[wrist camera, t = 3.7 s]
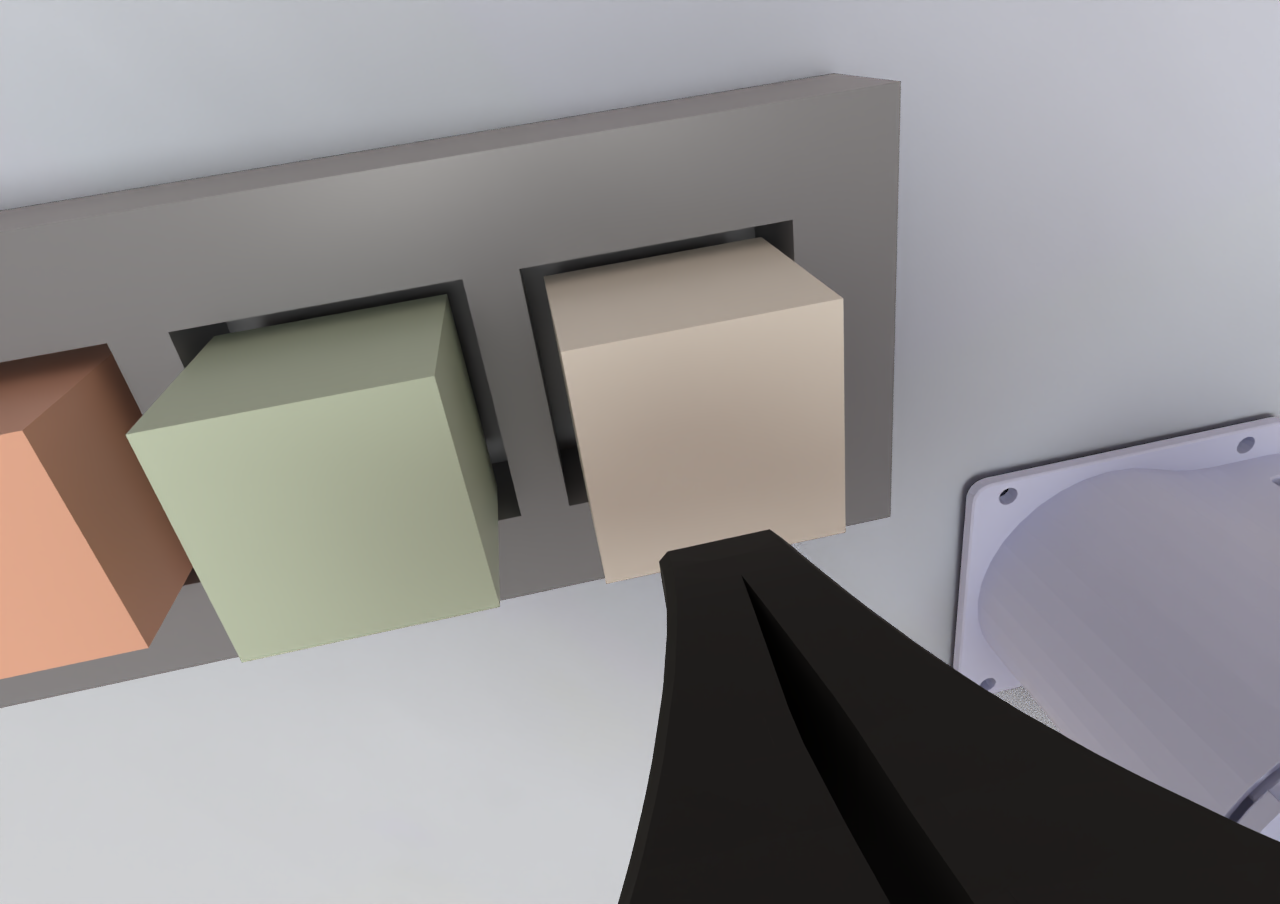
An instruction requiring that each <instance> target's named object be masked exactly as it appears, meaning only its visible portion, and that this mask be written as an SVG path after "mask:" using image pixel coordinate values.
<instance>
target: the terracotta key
mask: <svg viewBox="0 0 1280 904" xmlns="http://www.w3.org/2000/svg"><path fill="white" fill-rule="evenodd" d="M142 416H143V415H142V413H141V411H140V409H139V407H138V405H137V403H136V401H135V399H134V397H133V395H132V393H131V391H130V389H129V387H128V385H127V383H126V381H125V379H124V377H123V375H122V373H121V371H120V369H119V367H118V365H117V362H116V360H115V358H114V356H113V354H112V352H111V350H110V348H109V346H108V344H107V343H105V344H100V345H94V346H89V347H83V348H78V349H72V350H67V351H61V352H55V353H50V354H44V355H39V356H33V357H28V358H22V359H17V360H11V361H5V362H0V679H4V678H9V677H14V676H18V675H23V674H28V673H32V672H37V671H42V670H47V669H51V668H56V667H61V666H66V665H70V664H75V663H80V662H84V661H89V660H94V659H99V658H103V657H108V656H113V655H117V654H122V653H127V652H132V651H136V650H141V649H146V648H149V646H150V645H151V643H152V641H153V639H154V637H155V635H156V634H157V632H158V630H159V628H160V626H161V625H162V623H163V621H164V619H165V617H166V615H167V614H168V612H169V610H170V608H171V606H172V605H173V603H174V601H175V599H176V597H177V595H178V594H179V592H180V590H181V588H182V586H183V585H184V583H185V581H186V579H187V577H188V575H189V574H190V572H191V570H192V568H193V566H192V564H191V562H190V560H189V558H188V556H187V554H186V552H185V550H184V548H183V546H182V544H181V542H180V540H179V538H178V537H177V535H176V533H175V531H174V529H173V527H172V525H171V523H170V521H169V519H168V517H167V515H166V513H165V511H164V509H163V507H162V505H161V503H160V501H159V499H158V497H157V495H156V494H155V492H154V490H153V488H152V486H151V484H150V482H149V480H148V478H147V476H146V474H145V472H144V470H143V468H142V466H141V464H140V462H139V460H138V458H137V456H136V454H135V452H134V451H133V449H132V447H131V445H130V443H129V441H128V439H127V437H126V433H127V432H128V431H129V430H130V429H131V428H132V427H133V426H134V425H135V423H136V422H137V421H138V420H139V419H140V418H141V417H142Z"/></svg>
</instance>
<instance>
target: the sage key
mask: <svg viewBox="0 0 1280 904" xmlns="http://www.w3.org/2000/svg"><path fill="white" fill-rule="evenodd" d="M126 437H127V439H128V441H129V443H130V445H131V447H132V449H133V451H134V452H135V454H136V456H137V458H138V460H139V462H140V464H141V466H142V468H143V470H144V472H145V474H146V476H147V478H148V480H149V482H150V484H151V486H152V488H153V490H154V492H155V494H156V495H157V497H158V499H159V501H160V503H161V505H162V507H163V509H164V511H165V513H166V515H167V517H168V519H169V521H170V523H171V525H172V527H173V529H174V531H175V533H176V535H177V537H178V538H179V540H180V542H181V544H182V546H183V548H184V550H185V552H186V554H187V556H188V558H189V560H190V562H191V564H192V566H193V568H194V570H195V572H196V574H197V576H198V578H199V579H200V581H201V583H202V585H203V587H204V589H205V591H206V593H207V595H208V597H209V599H210V601H211V603H212V605H213V607H214V609H215V611H216V613H217V615H218V617H219V619H220V621H221V622H222V624H223V626H224V628H225V630H226V632H227V634H228V636H229V638H230V640H231V642H232V644H233V646H234V648H235V650H236V652H237V654H238V656H239V658H240V660H241V662H246V661H251V660H256V659H260V658H265V657H270V656H274V655H279V654H284V653H288V652H293V651H297V650H302V649H307V648H311V647H316V646H321V645H325V644H330V643H335V642H339V641H344V640H349V639H353V638H358V637H362V636H367V635H372V634H376V633H381V632H386V631H390V630H395V629H400V628H404V627H409V626H413V625H418V624H423V623H427V622H432V621H437V620H441V619H446V618H451V617H455V616H460V615H464V614H469V613H474V612H478V611H483V610H488V609H492V608H497V607H500V584H499V538H498V493H497V483H496V479H495V475H494V472H493V468H492V464H491V460H490V456H489V452H488V449H487V445H486V441H485V437H484V433H483V429H482V426H481V422H480V418H479V414H478V410H477V407H476V403H475V399H474V395H473V391H472V387H471V384H470V380H469V376H468V372H467V368H466V364H465V361H464V357H463V353H462V349H461V345H460V342H459V338H458V334H457V330H456V326H455V322H454V319H453V315H452V311H451V307H450V303H449V299H448V296H447V294H444V295H438V296H433V297H427V298H421V299H416V300H410V301H405V302H399V303H394V304H388V305H383V306H377V307H372V308H366V309H361V310H355V311H350V312H344V313H339V314H333V315H328V316H322V317H317V318H311V319H306V320H300V321H295V322H289V323H284V324H278V325H273V326H267V327H262V328H256V329H251V330H245V331H239V332H234V333H228V334H223V335H217V336H214V337H213V338H212V339H211V340H210V341H209V342H208V343H207V344H206V346H205V347H204V348H203V349H202V350H201V351H200V352H199V353H198V354H197V356H196V357H195V358H194V359H193V360H192V361H191V362H190V363H189V364H188V366H187V367H186V368H185V369H184V370H183V371H182V372H181V373H180V374H179V376H178V377H177V378H176V379H175V380H174V381H173V382H172V383H171V384H170V386H169V387H168V388H167V389H166V390H165V391H164V392H163V393H162V394H161V396H160V397H159V398H158V399H157V400H156V401H155V402H154V403H153V405H152V406H151V407H150V408H149V409H148V410H147V411H146V412H145V413H144V415H143V416H142V417H141V418H140V419H139V420H138V421H137V422H136V423H135V425H134V426H133V427H132V428H131V429H130V430H129V431H128V432H127V433H126Z"/></svg>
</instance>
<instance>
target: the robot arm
mask: <svg viewBox="0 0 1280 904" xmlns="http://www.w3.org/2000/svg"><path fill="white" fill-rule="evenodd" d="M1008 488H1009V489H1008ZM1006 489H1008V491H1007V492H1006V493H1005V494H1004V495H1003V496H1001V497H1000V494H1001V493H1002V492H1003V491H1004V490H1006ZM659 565H660V571H661V577H662V583H663V589H664V596H665V602H666V608H667V641H666V655H665V670H664V683H663V692H662V700H661V707H660V714H659V720H658V727H657V733H656V740H655V746H654V753H653V759H652V765H651V770H650V775H649V780H648V785H647V790H646V795H645V800H644V804H643V809H642V813H641V818H640V822H639V826H638V830H637V834H636V839H635V843H634V847H633V851H632V855H631V859H630V863H629V867H628V870H627V874H626V877H625V881H624V884H623V888H622V892H621V895H620V899H619V902H618V904H1280V417H1269V418H1264V419H1260V420H1255V421H1250V422H1246V423H1241V424H1236V425H1231V426H1227V427H1222V428H1217V429H1213V430H1208V431H1203V432H1199V433H1194V434H1189V435H1184V436H1180V437H1175V438H1170V439H1166V440H1161V441H1156V442H1152V443H1147V444H1142V445H1137V446H1133V447H1128V448H1123V449H1119V450H1114V451H1109V452H1105V453H1100V454H1095V455H1090V456H1086V457H1081V458H1076V459H1072V460H1067V461H1062V462H1058V463H1053V464H1048V465H1044V466H1039V467H1034V468H1029V469H1025V470H1020V471H1015V472H1011V473H1006V474H1001V475H997V476H992V477H987V478H984V479H981V480H979V481H977V482H976V483H975V484H973V485H972V487H971V488H970V489H969V491H968V494H967V497H966V510H965V522H964V535H963V548H962V560H961V573H960V586H959V598H958V611H957V624H956V636H955V649H954V662H953V668H952V667H951V666H949V665H948V664H946V663H945V662H943V661H942V660H940V659H939V658H937V657H936V656H934V655H933V654H931V653H930V652H929V651H927V650H926V649H924V648H923V647H921V646H920V645H918V644H917V643H916V642H914V641H913V640H911V639H910V638H909V637H907V636H906V635H905V634H903V633H902V632H900V631H899V630H898V629H896V628H895V627H894V626H892V625H891V624H890V623H888V622H887V621H886V620H884V619H883V618H881V617H880V616H879V615H877V614H876V613H875V612H873V611H872V610H871V609H869V608H868V607H867V606H865V605H864V604H863V603H861V602H860V601H859V600H857V599H856V598H855V597H854V596H852V595H851V594H850V593H848V592H847V591H846V590H845V589H843V588H842V587H841V586H840V585H838V584H837V583H836V582H835V581H833V580H832V579H831V578H830V577H828V576H827V575H826V574H825V573H823V572H822V571H821V570H820V569H819V568H817V567H816V566H815V565H814V564H812V563H811V562H810V561H809V560H808V559H806V558H805V557H804V556H803V555H802V554H800V553H799V552H798V551H797V550H796V549H794V548H793V547H792V546H791V545H790V544H789V543H787V542H786V541H785V540H784V539H783V538H781V537H780V536H779V535H777V534H776V533H774V532H773V531H772V530H770V529H768V530H763V531H759V532H754V533H750V534H745V535H740V536H736V537H731V538H727V539H722V540H718V541H713V542H708V543H704V544H699V545H695V546H690V547H685V548H681V549H676V550H672V551H667V552H666V554H665V555H664V556H663V557H662V559H661V560H660V561H659ZM1021 686H1023V687H1024V688H1025V690H1026V691H1027V692H1028V693H1029V695H1030V696H1031V697H1032V698H1033V699H1034V701H1035V702H1036V703H1037V704H1038V706H1039V707H1040V708H1041V709H1042V710H1043V712H1044V713H1045V714H1046V715H1047V717H1048V718H1049V719H1050V720H1051V721H1052V723H1053V724H1054V725H1055V726H1056V728H1057V729H1058V730H1059V731H1060V732H1061V734H1060V733H1059V732H1057V731H1055V730H1053V729H1052V728H1050V727H1048V726H1046V725H1044V724H1043V723H1041V722H1039V721H1037V720H1035V719H1034V718H1032V717H1030V716H1028V715H1027V714H1025V713H1023V712H1021V711H1020V710H1018V709H1016V708H1015V707H1013V706H1011V705H1010V704H1008V703H1007V702H1005V701H1003V700H1002V699H1000V698H999V697H997V696H995V695H994V694H992V693H996V692H1000V691H1005V690H1009V689H1013V688H1017V687H1021Z"/></svg>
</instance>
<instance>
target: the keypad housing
mask: <svg viewBox="0 0 1280 904" xmlns="http://www.w3.org/2000/svg"><path fill="white" fill-rule="evenodd" d="M900 93H901V81H893V80H885V79H876V78H868V77H859V76H851V75H843V74H834V73H833V74H827V75H821V76H815V77H809V78H803V79H797V80H791V81H785V82H779V83H773V84H767V85H761V86H754V87H748V88H742V89H736V90H730V91H724V92H718V93H712V94H706V95H700V96H694V97H688V98H682V99H676V100H669V101H663V102H657V103H651V104H645V105H639V106H633V107H627V108H621V109H615V110H609V111H603V112H597V113H591V114H585V115H578V116H572V117H566V118H560V119H554V120H548V121H542V122H536V123H530V124H524V125H518V126H512V127H506V128H500V129H493V130H487V131H481V132H475V133H469V134H463V135H457V136H451V137H445V138H439V139H433V140H427V141H421V142H415V143H408V144H402V145H396V146H390V147H384V148H378V149H372V150H366V151H360V152H354V153H348V154H342V155H336V156H330V157H323V158H317V159H311V160H305V161H299V162H293V163H287V164H281V165H275V166H269V167H263V168H257V169H251V170H245V171H239V172H232V173H226V174H220V175H214V176H208V177H202V178H196V179H190V180H184V181H178V182H172V183H166V184H160V185H154V186H147V187H141V188H135V189H129V190H123V191H117V192H111V193H105V194H99V195H93V196H87V197H81V198H75V199H69V200H62V201H56V202H50V203H44V204H38V205H32V206H26V207H20V208H14V209H8V210H2V211H0V362H5V361H11V360H17V359H22V358H28V357H33V356H39V355H44V354H50V353H55V352H61V351H67V350H72V349H78V348H83V347H89V346H94V345H100V344H105V343H107V344H108V346H109V348H110V350H111V352H112V354H113V356H114V358H115V360H116V362H117V365H118V367H119V369H120V371H121V373H122V375H123V377H124V379H125V381H126V383H127V385H128V387H129V389H130V391H131V393H132V395H133V397H134V399H135V401H136V403H137V405H138V407H139V409H140V411H141V413H142V415H144V413H145V412H146V411H147V410H148V409H149V408H150V407H151V406H152V405H153V403H154V402H155V401H156V400H157V399H158V398H159V397H160V396H161V394H162V393H163V392H164V391H165V390H166V389H167V388H168V387H169V386H170V384H171V383H172V382H173V381H174V380H175V379H176V378H177V377H178V376H179V374H180V373H181V372H182V371H183V370H184V369H185V368H186V367H187V366H188V364H189V363H190V362H191V361H192V360H193V359H194V358H195V357H196V356H197V354H198V353H199V352H200V351H201V350H202V349H203V348H204V347H205V346H206V344H207V343H208V342H209V341H210V340H211V339H212V338H213V337H214V336H217V335H223V334H228V333H234V332H239V331H245V330H251V329H256V328H262V327H267V326H273V325H278V324H284V323H289V322H295V321H300V320H306V319H311V318H317V317H322V316H328V315H333V314H339V313H344V312H350V311H355V310H361V309H366V308H372V307H377V306H383V305H388V304H394V303H399V302H405V301H410V300H416V299H421V298H427V297H433V296H438V295H444V294H447V296H448V299H449V303H450V307H451V311H452V315H453V319H454V322H455V326H456V330H457V334H458V338H459V342H460V345H461V349H462V353H463V357H464V361H465V364H466V368H467V372H468V376H469V380H470V384H471V387H472V391H473V395H474V399H475V403H476V407H477V410H478V414H479V418H480V422H481V426H482V429H483V433H484V437H485V441H486V445H487V449H488V452H489V456H490V460H491V464H492V468H493V472H494V475H495V479H496V483H497V493H498V538H499V584H500V601H501V600H505V599H510V598H515V597H519V596H524V595H529V594H533V593H538V592H543V591H547V590H552V589H556V588H561V587H566V586H570V585H575V584H580V583H584V582H589V581H594V580H598V579H603V578H605V575H604V570H603V566H602V561H601V556H600V552H599V547H598V543H597V538H596V533H595V529H594V524H593V519H592V515H591V510H590V505H589V501H588V496H587V492H586V487H585V482H584V478H583V473H582V468H581V463H580V458H579V453H578V448H577V443H576V438H575V433H574V428H573V423H572V418H571V413H570V408H569V403H568V398H567V392H566V387H565V382H564V377H563V372H562V367H561V362H560V357H559V352H558V347H557V342H556V337H555V332H554V327H553V322H552V317H551V312H550V307H549V302H548V296H547V291H546V286H545V281H544V276H548V275H554V274H559V273H565V272H570V271H576V270H581V269H587V268H592V267H598V266H603V265H609V264H615V263H620V262H626V261H631V260H637V259H642V258H648V257H653V256H659V255H664V254H670V253H675V252H681V251H686V250H692V249H697V248H703V247H708V246H714V245H719V244H725V243H730V242H736V241H741V240H747V239H752V238H758V237H762V238H763V239H765V240H766V241H767V242H769V243H770V244H771V245H773V246H774V247H775V248H777V249H778V250H779V251H781V252H782V253H783V254H785V255H786V256H787V257H789V258H790V259H791V260H793V261H794V262H795V263H797V264H798V265H799V266H801V267H802V268H803V269H805V270H806V271H807V272H809V273H810V274H811V275H813V276H814V277H815V278H817V279H818V280H819V281H821V282H822V283H823V284H825V285H826V286H827V287H829V288H830V289H831V290H833V291H834V292H835V293H837V294H838V295H839V296H841V297H842V298H843V310H844V416H845V521H846V526H850V525H854V524H859V523H864V522H868V521H873V520H877V519H882V518H887V517H890V513H891V471H892V429H893V387H894V345H895V303H896V261H897V219H898V177H899V135H900ZM235 657H239V656H238V654H237V652H236V650H235V648H234V646H233V644H232V642H231V640H230V638H229V636H228V634H227V632H226V630H225V628H224V626H223V624H222V622H221V621H220V619H219V617H218V615H217V613H216V611H215V609H214V607H213V605H212V603H211V601H210V599H209V597H208V595H207V593H206V591H205V589H204V587H203V585H202V583H201V581H200V579H199V578H198V576H197V574H196V572H195V570H194V568H192V570H191V572H190V574H189V575H188V577H187V579H186V581H185V583H184V585H183V586H182V588H181V590H180V592H179V594H178V595H177V597H176V599H175V601H174V603H173V605H172V606H171V608H170V610H169V612H168V614H167V615H166V617H165V619H164V621H163V623H162V625H161V626H160V628H159V630H158V632H157V634H156V635H155V637H154V639H153V641H152V643H151V645H150V646H149V648H146V649H141V650H136V651H132V652H127V653H122V654H117V655H113V656H108V657H103V658H99V659H94V660H89V661H84V662H80V663H75V664H70V665H66V666H61V667H56V668H51V669H47V670H42V671H37V672H32V673H28V674H23V675H18V676H14V677H9V678H4V679H0V708H3V707H8V706H12V705H17V704H21V703H26V702H31V701H35V700H40V699H45V698H49V697H54V696H59V695H63V694H68V693H73V692H77V691H82V690H87V689H91V688H96V687H101V686H105V685H110V684H115V683H119V682H124V681H128V680H133V679H138V678H142V677H147V676H152V675H156V674H161V673H166V672H170V671H175V670H180V669H184V668H189V667H194V666H198V665H203V664H208V663H212V662H217V661H222V660H226V659H231V658H235Z"/></svg>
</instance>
